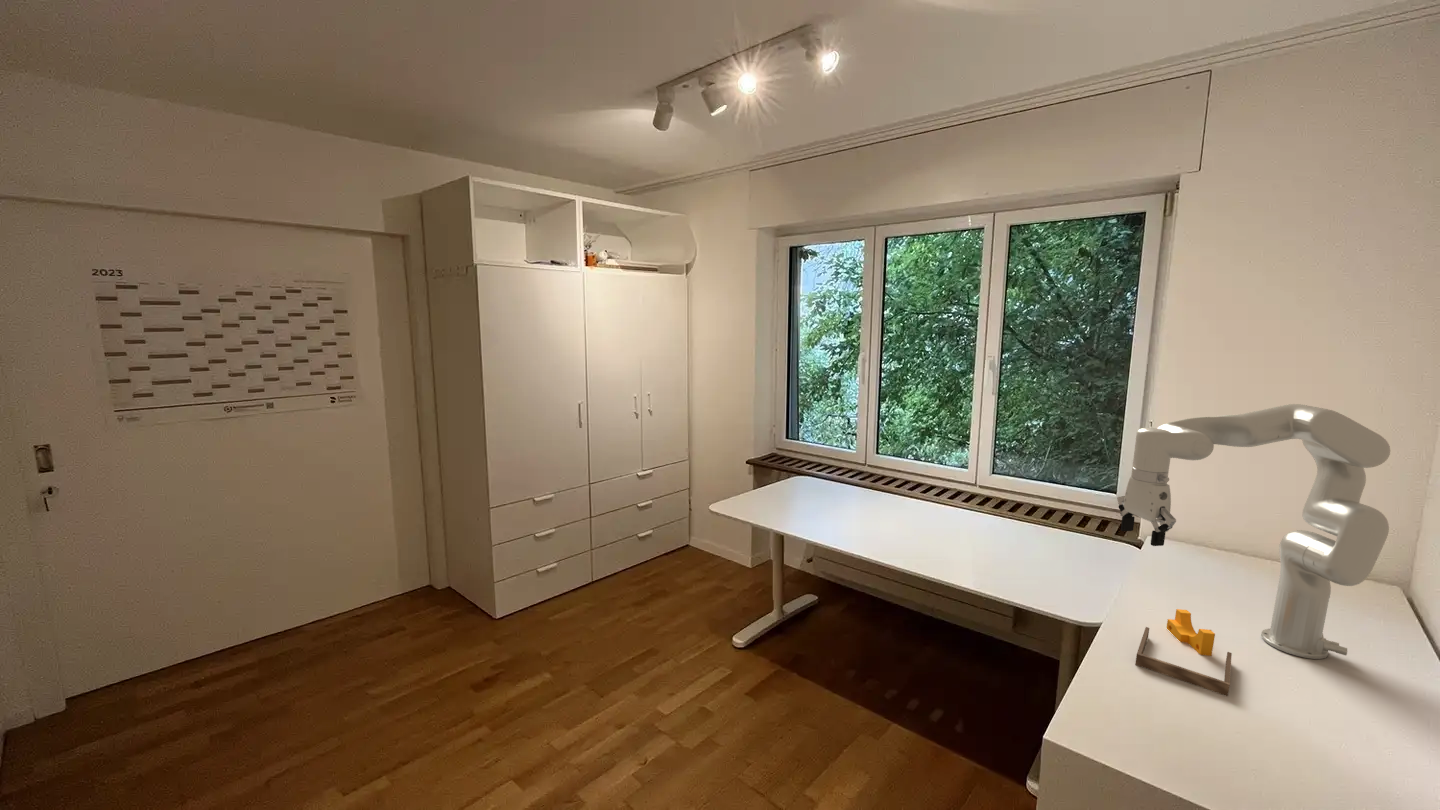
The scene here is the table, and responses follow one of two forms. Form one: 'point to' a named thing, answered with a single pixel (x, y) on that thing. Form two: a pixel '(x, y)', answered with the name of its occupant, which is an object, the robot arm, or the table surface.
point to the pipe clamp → (1191, 633)
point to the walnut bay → (1184, 670)
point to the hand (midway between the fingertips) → (1141, 537)
